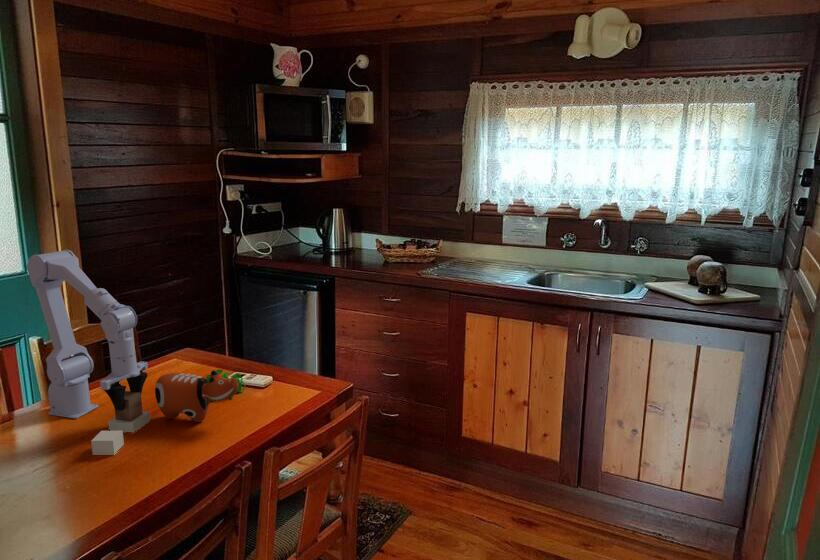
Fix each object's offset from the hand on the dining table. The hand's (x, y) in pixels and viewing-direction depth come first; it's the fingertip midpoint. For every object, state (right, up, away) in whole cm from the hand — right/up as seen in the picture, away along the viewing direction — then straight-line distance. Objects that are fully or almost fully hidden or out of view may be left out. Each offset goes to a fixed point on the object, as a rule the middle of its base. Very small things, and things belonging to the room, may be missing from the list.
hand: (128, 404), depth 150 cm
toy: (+17, -5, +4) cm, 18 cm away
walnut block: (0, -3, +1) cm, 3 cm away
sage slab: (0, -6, +1) cm, 6 cm away
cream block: (+1, -9, -11) cm, 14 cm away
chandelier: (+16, -2, +23) cm, 28 cm away
